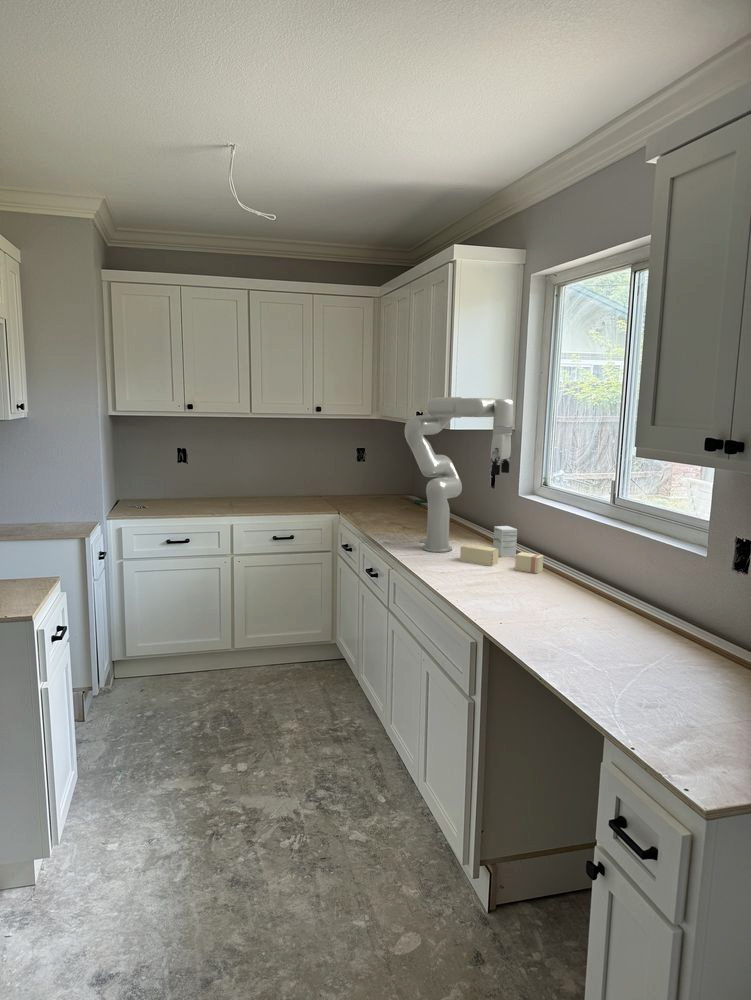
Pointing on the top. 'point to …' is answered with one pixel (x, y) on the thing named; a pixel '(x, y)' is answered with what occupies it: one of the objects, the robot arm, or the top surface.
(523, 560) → the stub
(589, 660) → the top surface
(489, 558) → the block
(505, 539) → the supplement box
